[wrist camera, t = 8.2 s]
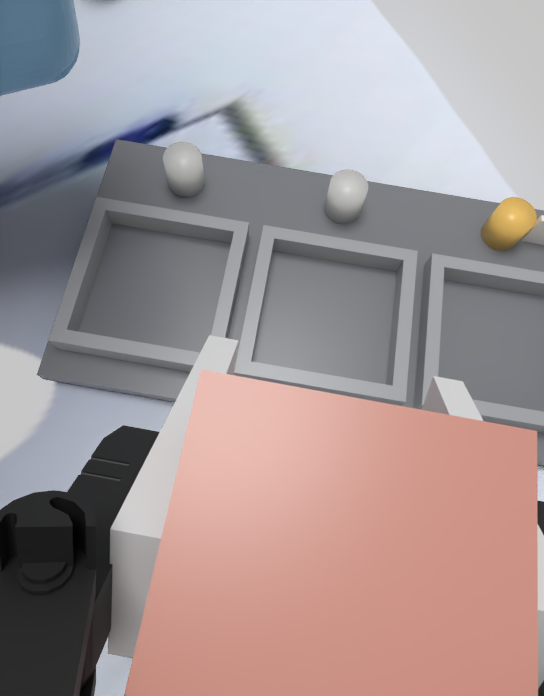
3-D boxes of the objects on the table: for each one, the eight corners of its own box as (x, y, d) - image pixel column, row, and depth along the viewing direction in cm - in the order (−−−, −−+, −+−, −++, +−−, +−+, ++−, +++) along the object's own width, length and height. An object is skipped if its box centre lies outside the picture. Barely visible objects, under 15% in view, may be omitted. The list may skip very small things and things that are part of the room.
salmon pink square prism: (190, 624, 14) (103, 781, 6) (226, 450, 16) (200, 369, 7) (363, 657, 14) (538, 867, 6) (380, 479, 16) (536, 430, 7)
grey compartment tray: (43, 379, 29) (18, 362, 26) (119, 149, 35) (106, 112, 32) (580, 472, 29) (621, 466, 26) (570, 224, 34) (603, 194, 31)
